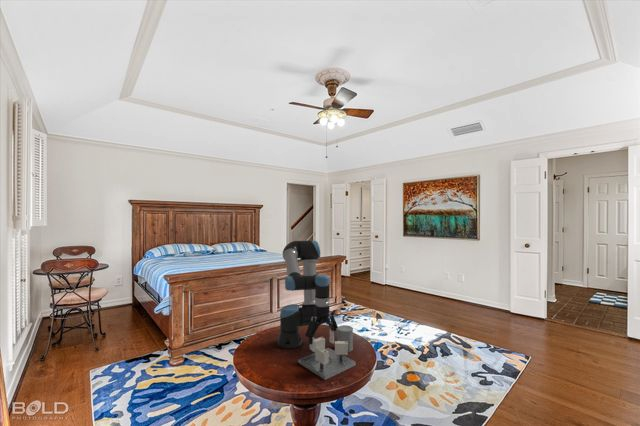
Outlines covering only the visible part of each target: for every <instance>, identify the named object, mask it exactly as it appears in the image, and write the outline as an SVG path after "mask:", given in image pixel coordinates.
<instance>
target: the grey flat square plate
mask: <svg viewBox="0 0 640 426" xmlns="http://www.w3.org/2000/svg"><path fill="white" fill-rule="evenodd" d="M325 350H327V351H329V363H328V364H325V365H324V368H320V362H318V361H317V360H315V352H313V353H310V354H308V355H306V356H303V357H300V358H298V362H297V363H298V364H300V365H301V366H303V367H305V368H306V369H307V370H309V371H311V372H312V373H314V374H315V375H317V376H318V377H320V378H321V379H323V380H325V381H326V380H328V379H330V378H332V377H334V376H337V375H338V374H341V373H343V372H344V371H347V370H348V369H349V370H350V369H351V368H352V367H355V366H356V365H357V364H356V361H355V360H353V359H351V358H349V357H347V355H343V359H342V360H340V359H339V355H336V354H335V349H332V348H330V347H325Z"/></svg>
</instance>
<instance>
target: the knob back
mask: <svg viewBox="0 0 640 426" xmlns="http://www.w3.org/2000/svg"><path fill="white" fill-rule="evenodd" d="M318 347H321V348H323V349H326V338H324V336H320V337H317V338H314V351H312V352H313V353H315V348H318Z"/></svg>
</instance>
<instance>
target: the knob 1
mask: <svg viewBox="0 0 640 426" xmlns="http://www.w3.org/2000/svg"><path fill="white" fill-rule="evenodd" d="M325 349H326V348H325ZM325 349H323V348H321V347H318V348H315V352H314V353H315V360H317V361H318V362H320V368H324V365H325V364H328V363H329V351H327V350H325Z"/></svg>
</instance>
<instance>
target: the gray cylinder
mask: <svg viewBox="0 0 640 426" xmlns="http://www.w3.org/2000/svg"><path fill="white" fill-rule="evenodd" d="M337 326H338V328H336V332H337V334H336V335H337V336H336V337H337V338H336V340H337V341H348V353H350V352H351V351H353V349H354V348H353V347H354V342H353V341H354V328H353V327H352V326H351V325H345V324H343V325H342V324H341V325H337Z"/></svg>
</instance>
